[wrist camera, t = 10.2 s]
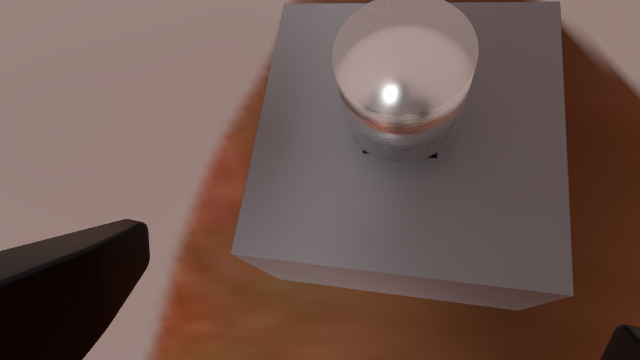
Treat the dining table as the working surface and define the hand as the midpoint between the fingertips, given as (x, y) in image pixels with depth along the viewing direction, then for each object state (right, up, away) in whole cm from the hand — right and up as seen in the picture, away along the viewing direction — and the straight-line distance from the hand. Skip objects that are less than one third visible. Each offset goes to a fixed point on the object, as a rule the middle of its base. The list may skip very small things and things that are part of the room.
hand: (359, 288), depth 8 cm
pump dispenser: (+3, +2, +12) cm, 12 cm away
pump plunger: (+3, +2, +11) cm, 11 cm away
